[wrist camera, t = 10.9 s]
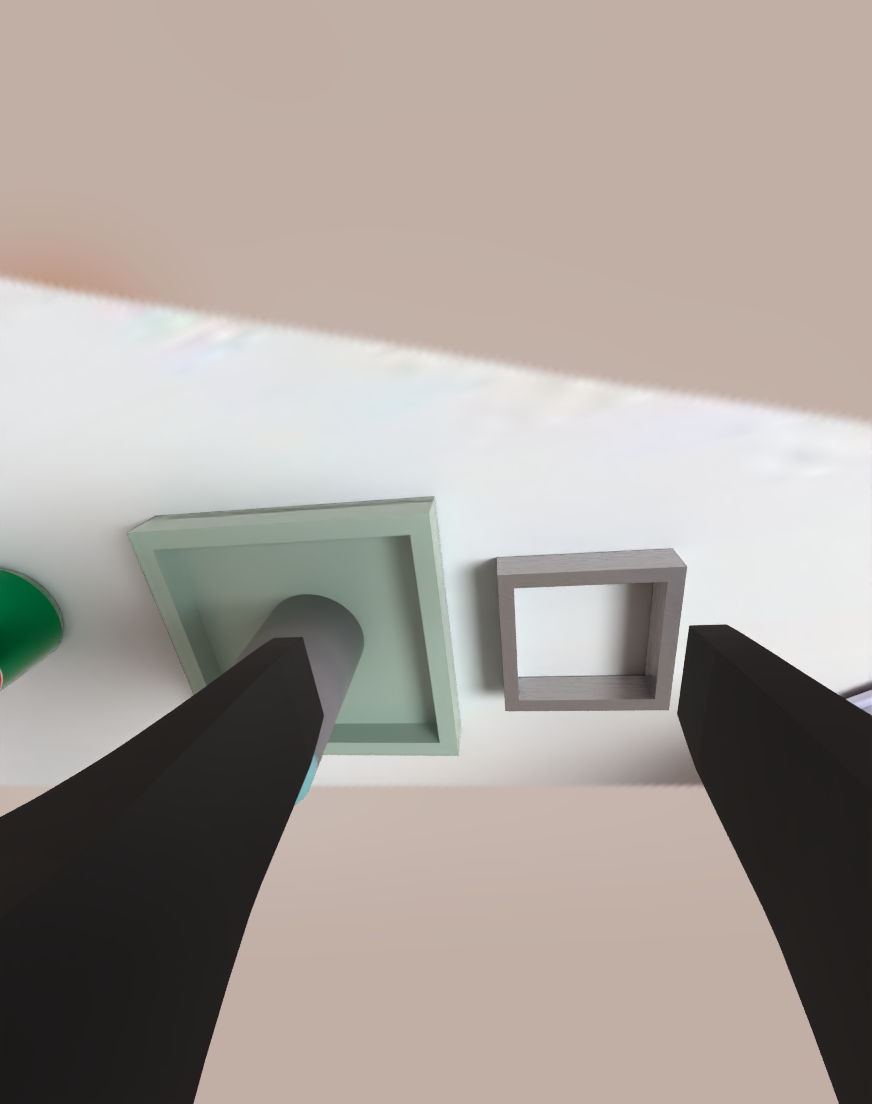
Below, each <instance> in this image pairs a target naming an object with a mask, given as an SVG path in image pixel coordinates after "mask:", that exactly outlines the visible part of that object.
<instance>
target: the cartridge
mask: <svg viewBox="0 0 872 1104" xmlns="http://www.w3.org/2000/svg"><path fill="white" fill-rule="evenodd" d="M284 637H303V639H304V643H305V647H306V651H307V654H308V658H309V662H310V665H311V669H312V673H313V676H314V680H315V684H316V687H317V691H318V695H319V698H320V702H321V706H322V709H323V713H324V718H323V722H322V726H321V730H320V734H319V738H318V742H317V745H316V749H315V752H314V756H313V759H312V762H311V765H310V768H309V771H308V773H307V776H306V778H305V781H304V783H303V785H302V788H301V790H300V793H299V795H298V798H297V800H296V802H295V805H296V804H297V803H299V802H300V801H301V800H302V799H303V798H304V797H305V796H306V794H307V793H308V791H309V789H310V786H311V784H312V781H313V779H314V776H315V773H316V771H317V768H318V766H319V763H320V761H321V758H322V755H323V753H324V750H325V748H326V745H327V743H328V740H329V737H330V735H331V732H332V730H333V727H334V725H335V722H336V719H337V717H338V714H339V712H340V709H341V706H342V704H343V701H344V699H345V696H346V694H347V691H348V688H349V686H350V683H351V681H352V678H353V676H354V673H355V670H356V668H357V665H358V663H359V660H360V658H361V655H362V652H363V649H364V635H363V632H362V629H361V626H360V624H359V622H358V621H357V619H356V618H355V617H354V615H353V614H352V613H351V612H350V611H349V610H348V609H346V608H345V607H344V606H343V605H341V604H339V603H338V602H336V601H334V600H332V599H330V598H327V597H324V596H320V595H313V594H302V595H296V596H292V597H290V598H287V599H285V600H284V601H282V602H281V603H280V604H278V605H277V606H276V608H275V609H274V610H273V611H272V613H271V614H270V615H269V617H268V618H267V619H266V621H265V622H264V623H263V625H262V626H261V627H260V629H259V630H258V631H257V633H256V634H255V635H254V637H253V638H252V639H251V641H250V642H249V643H248V645H247V646H246V647H245V649H244V650H243V651H242V653H241V654H240V655H239V657H238V658H237V659H236V661H235V662H234V663H233V665H232V666H231V667H233V666H234V665H235V664H237V663H238V662H239V661H241V660H242V659H244V658H245V657H246V656H248V655H249V654H250V653H252V652H253V651H255V650H256V649H258V648H259V647H260V646H262V645H263V644H265V643H267V642H268V641H270V640H271V639H273V638H284ZM231 667H230V668H231Z"/></svg>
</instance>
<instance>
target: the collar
mask: <svg viewBox="0 0 872 1104" xmlns="http://www.w3.org/2000/svg"><path fill="white" fill-rule="evenodd" d="M686 570H687V566H686V565H685V563H684V562H683V561H682V560H681V558H680V557H679V556H678V554H677V553H676V552H675V551H674V549H658V550H638V551H619V552H599V553H579V554H560V555H540V556H520V557H500V558H497V582H498V598H499V614H500V630H501V647H502V663H503V679H504V695H505V711H608V710H669V705H670V697H671V689H672V681H673V673H674V665H675V657H676V649H677V641H678V634H679V626H680V618H681V610H682V602H683V594H684V586H685V578H686ZM651 582H654V583H653V594H652V604H651V615H650V625H649V636H648V646H647V657H646V667H645V675H639V676H576V677H518V672H517V650H516V628H515V606H514V588H531V587H555V586H579V585H603V584H627V583H651Z"/></svg>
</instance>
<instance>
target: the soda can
mask: <svg viewBox="0 0 872 1104" xmlns="http://www.w3.org/2000/svg"><path fill="white" fill-rule="evenodd" d="M62 632H63V619H62V615H61V612H60V609H59V607H58V605H57V603H56V602H55V600H54V599H53V598H52V596H51V595H50V594H49V593H48V592H47V591H46V590H45V589H44V588H43V587H42V586H40V585H39V584H38V583H37V582H35V581H33V580H32V579H30V578H28V577H26V576H24V575H22V574H19V573H17V572H13V571H9V570H5V569H0V691H2V690H3V689H4V688H6V687H7V686H8V685H10V684H11V683H12V682H13V681H15V680H16V679H17V678H19V677H20V676H21V675H23V674H24V673H25V672H27V671H28V670H29V669H31V668H32V667H33V666H35V665H36V664H37V663H39V662H40V661H41V660H43V659H44V658H45V657H47V656H48V655H49V654H51V653H52V652H53V651H54V650H55V649H56V648H57V647H58V646H59V644H60V642H61V638H62Z"/></svg>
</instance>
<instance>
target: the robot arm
mask: <svg viewBox="0 0 872 1104" xmlns="http://www.w3.org/2000/svg"><path fill="white" fill-rule="evenodd" d="M677 714H678V718H679V721H680V724H681V727H682V730H683V733H684V736H685V739H686V742H687V745H688V748H689V751H690V754H691V756H692V759H693V762H694V765H695V768H696V770H697V772H698V774H699V776H700V779H701V781H702V783H703V785H704V787H705V789H706V791H707V793H708V795H709V797H710V800H711V802H712V804H713V806H714V808H715V810H716V812H717V814H718V816H719V818H720V820H721V822H722V824H723V826H724V829H725V831H726V833H727V835H728V837H729V839H730V841H731V843H732V845H733V847H734V849H735V851H736V853H737V855H738V857H739V859H740V862H741V863H742V866H743V868H744V870H745V872H746V874H747V876H748V878H749V880H750V882H751V884H752V886H753V888H754V890H755V892H756V894H757V896H758V898H759V901H760V903H761V905H762V906H763V909H764V911H765V913H766V916H767V918H768V920H769V922H770V925H771V927H772V929H773V931H774V934H775V936H776V938H777V941H778V943H779V945H780V948H781V950H782V953H783V955H784V958H785V961H786V963H787V966H788V969H789V971H790V974H791V976H792V979H793V981H794V984H795V987H796V989H797V992H798V994H799V997H800V1000H801V1002H802V1005H803V1007H804V1010H805V1013H806V1015H807V1018H808V1020H809V1023H810V1026H811V1028H812V1031H813V1034H814V1036H815V1039H816V1042H817V1045H818V1047H819V1050H820V1053H821V1055H822V1058H823V1061H824V1064H825V1067H826V1069H827V1072H828V1075H829V1077H830V1080H831V1083H832V1085H833V1088H834V1091H835V1094H836V1096H837V1099H838V1102H839V1104H872V690H869V691H866V692H864V693H861V694H858V695H855V696H853V697H850V698H847V699H844V698H843V697H841V696H839V695H838V694H836V693H835V692H833V691H832V690H830V689H828V688H827V687H825V686H824V685H822V684H820V683H819V682H817V681H816V680H814V679H812V678H811V677H809V676H808V675H806V674H805V673H803V672H802V671H800V670H798V669H797V668H795V667H794V666H792V665H791V664H789V663H788V662H786V661H784V660H783V659H781V658H780V657H778V656H777V655H775V654H774V653H772V652H770V651H769V650H767V649H766V648H764V647H763V646H761V645H760V644H758V643H756V642H755V641H753V640H752V639H750V638H748V637H747V636H745V635H744V634H742V633H740V632H739V631H737V630H735V629H734V628H732V627H730V626H728V625H693V626H689V632H688V639H687V646H686V654H685V661H684V668H683V676H682V683H681V690H680V698H679V705H678V712H677ZM323 718H324V713H323V709H322V706H321V702H320V698H319V695H318V691H317V687H316V684H315V680H314V676H313V673H312V669H311V665H310V662H309V658H308V654H307V651H306V647H305V643H304V639H303V637H284V638H273V639H271V640H270V641H268V642H267V643H265V644H263V645H262V646H260V647H259V648H258V649H256V650H255V651H253V652H252V653H250V654H249V655H248V656H246V657H245V658H244V659H242V660H241V661H239V662H238V663H237V664H235V665H234V666H233V667H231V668H230V669H229V670H227V671H226V672H225V673H223V674H222V675H221V676H219V677H218V678H217V679H215V680H214V681H212V682H211V683H210V684H208V685H207V686H206V687H204V688H203V689H202V690H200V691H199V692H197V693H196V694H195V695H193V696H192V697H191V698H189V699H188V700H187V701H185V702H184V703H183V704H181V705H180V706H178V707H177V708H175V709H174V710H173V711H171V712H170V713H168V714H167V715H165V716H164V717H162V718H161V719H160V720H158V721H157V722H155V723H154V724H152V725H151V726H149V727H148V728H146V729H145V730H144V731H142V732H141V733H139V734H138V735H136V736H135V737H133V738H132V739H130V740H129V741H128V742H126V743H125V744H123V745H122V746H120V747H119V748H117V749H116V750H114V751H112V752H111V753H109V754H108V755H106V756H105V757H103V758H102V759H100V760H98V761H97V762H95V763H94V764H92V765H90V766H89V767H87V768H86V769H84V770H82V771H81V772H79V773H77V774H76V775H74V776H72V777H70V778H69V779H67V780H65V781H64V782H62V783H60V784H59V785H57V786H55V787H54V788H52V789H50V790H49V791H47V792H45V793H44V794H42V795H40V796H38V797H37V798H35V799H33V800H31V801H30V802H28V803H26V804H24V805H22V806H20V807H18V808H16V809H15V810H13V811H11V812H9V813H7V814H5V815H3V816H1V817H0V1104H193V1103H194V1099H195V1096H196V1092H197V1088H198V1085H199V1081H200V1077H201V1073H202V1070H203V1066H204V1063H205V1059H206V1056H207V1052H208V1049H209V1045H210V1042H211V1039H212V1035H213V1032H214V1028H215V1025H216V1022H217V1018H218V1015H219V1012H220V1008H221V1005H222V1002H223V998H224V995H225V991H226V988H227V985H228V981H229V978H230V975H231V972H232V969H233V966H234V962H235V959H236V956H237V953H238V950H239V947H240V944H241V941H242V937H243V934H244V931H245V928H246V924H247V921H248V919H249V916H250V913H251V910H252V907H253V905H254V902H255V899H256V897H257V894H258V891H259V889H260V886H261V884H262V881H263V879H264V876H265V874H266V871H267V869H268V867H269V864H270V862H271V860H272V857H273V855H274V852H275V850H276V848H277V845H278V843H279V841H280V838H281V836H282V833H283V831H284V829H285V826H286V824H287V822H288V819H289V817H290V814H291V812H292V810H293V807H294V805H295V802H296V800H297V798H298V795H299V793H300V790H301V788H302V785H303V783H304V781H305V778H306V776H307V773H308V771H309V768H310V765H311V762H312V759H313V756H314V752H315V749H316V745H317V742H318V738H319V734H320V730H321V726H322V722H323Z"/></svg>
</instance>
